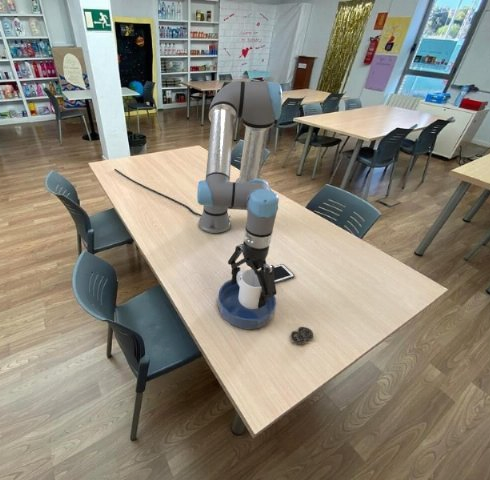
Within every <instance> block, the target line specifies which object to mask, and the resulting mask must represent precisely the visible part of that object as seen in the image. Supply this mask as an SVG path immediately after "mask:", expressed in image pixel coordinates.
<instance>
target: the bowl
mask: <svg viewBox="0 0 490 480" xmlns="http://www.w3.org/2000/svg"><path fill="white" fill-rule="evenodd" d="M240 280H241V277H240ZM231 281H232V278H231V279H229V280H227V281H225V282H224V283H223V284H222V285H221V286H220V288H219V290H218V295H217V296H218V297H217V308H218V309H217V310H218V312H219V313H220V315H221V317H222V318H223V319H224V320H225V321H226V322H227V323H230V324H231V325H232V326H233V327H237V328H240V329H243V330H256V329H259V328H262V327H265V326H266V325H268V324H269V323H270V322H271V320H272V319H273V318H274V313H275V310H276V306H277V298H276V295H274V296H272V297H271V298H270V297H269V300H268V301H266V304H265V305H264V306H263V307H261V308H260V309H259V308H257V309H248V308H246V307H244V306H243V305H241V303H240V302H239V290H240V287H239V285H238V283H235V284H234V285H232V284H231Z"/></svg>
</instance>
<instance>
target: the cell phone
mask: <svg viewBox="0 0 490 480" xmlns="http://www.w3.org/2000/svg"><path fill="white" fill-rule="evenodd" d="M273 266H274V271H273V273H274V280H275V284H277V283H281V282H284V281H287V280H290V279H293V278H294V277H295V274H294V273H293V272H292V270H290V269H289V268H288V267H287V266H286V265H285V264H283V263H281V264H278V265H273Z"/></svg>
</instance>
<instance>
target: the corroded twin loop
mask: <svg viewBox="0 0 490 480" xmlns="http://www.w3.org/2000/svg"><path fill="white" fill-rule="evenodd" d="M303 332H304V333H303ZM290 337H291V341H292V342H293V343H295V344H298V345H303V344H305V343H306V341H311V340H313V339H314V332H313V330H312V329H311V328H308V327H306V326H299V327H298V329H297V330H293V331H291V333H290Z"/></svg>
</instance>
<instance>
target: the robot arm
mask: <svg viewBox="0 0 490 480" xmlns="http://www.w3.org/2000/svg"><path fill="white" fill-rule="evenodd" d="M282 105H283V92H282V86H281V84H280V83H279V82H276V81H268V80H266V81H263V80H261V81H255V80H254V81H247V80H246V81H243V80H235V81H231V82H229V83H227V84H226V85H224V86H223V87H222V88H220V90H218V92H217V93H216V94H215V95H214V96H213V98H212V100H211V102H210V105H209V108H208V109H209V110H208V119H209V121H210V128H209V129H210V131H209V140H208V150H207V159H206V172H205V173H206V174H205V179H204V180H199V181H198V185H197V191H196V192H197V193H196V195H197V196H196V201H197V203H198V205H199V206H203V209H202V213H198V212H195V211H194V210H193V209H192V208H190V206H189V205H186V204H184V203H182V202H180V201H179V200H176V199H175V198H172V197H170V196H168V195H166V194H163V193H161V192H160V191H157V190H155V189H152V188H150V187H149V186H147V185H144V184H141V183H139V182H137V181H136V180H134V179H132V178H130V177H129V176H127V175H125V174H123V172H121V171H119V170H117V169H116V168H114V171H115V172H117V173H118V174H120V175H121V176H122V177H124V178H126V179H127V180H129V181H131V182H133V183H135V184H136V185H138V186H140V187H143V188H145V189H147V190H149V191H151V192H153V193H155V194H158V195H160V196H162V197H163V198H166V199H168V200H170V201H172V202H175V203H177V204H179V205H180V206H183V207H185V208H186V209H188V210H189V211H190V212H191V213H192V214H193V215H196V216H199V217H200V218H199V223H198V224H199V228H200V230H202V231H204V232H206V233H209V234H222V233H225V232H227V231H228V230H229V229H230V227H231V220H230V219H231V215H229V211H228V210H239V211H246V212H247V214H246V223H245V228H244V229H245V230H244V236H243V241H242V242H243V243H241V244H238V245H236V246H235V248H234V252H233V253H232V255H231V256H230V258H229V259H228V261H227V264H228V265H230V267H231V273H230V274H231V279H232V281H231V284H232V285H234V284H235V283H237V280H236V275H237V273H238V272H239V271H241V267H240V266H242V265H243V264H246V266H247V267H249V268H250V269H253V270H254V273H255V274H256V275H257V277H258V280H259V283H260V286H261V287H262V292H261V294H260V299H259V303H258V308H259V309H260V308H261V307H263V306H264V305H265V304H266V301H268V300H269V297H270V298H271V297H272V296H276V295H277V287H276V283H275V280H274V273H273V271H274V266H275V265H274V264H271V265H269V264H268V263H267V258H268V255H269V251H270V245H271V242H272V238H273V237H272V236H273V232H274V227H275V226H274V225H275V223H276V217H277V213H278V211H279V202H280V198H279V195H278V193H276V192H275V191H273V190H272V189H271V187H270V184H269V183H268V182H267V180H265V179H263V178H260V177H261V171H262V168H263V167H262V166H263V161H264V156H265V151H266V145H267V140H268V136H269V135H268V133H269V129H271V128H273V126H274V125H275V121H278V120H279V119H280V118H281V115H282ZM237 119H241V122H242V124H243V126H244V127H245V129H244V136H243V137H244V138H243V145H242V153H241V155H242V156H241V161H240V170H239V177H238V178H236V180H235V181H230V180H231V168H232V167H231V166H232V149H233V131H234V123H235V122H236V120H237ZM241 254H242V256H243V258H242V259H240V260H238V259H239V257H240V256H241ZM237 260H238V261H237ZM258 270H259V271H258Z"/></svg>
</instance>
